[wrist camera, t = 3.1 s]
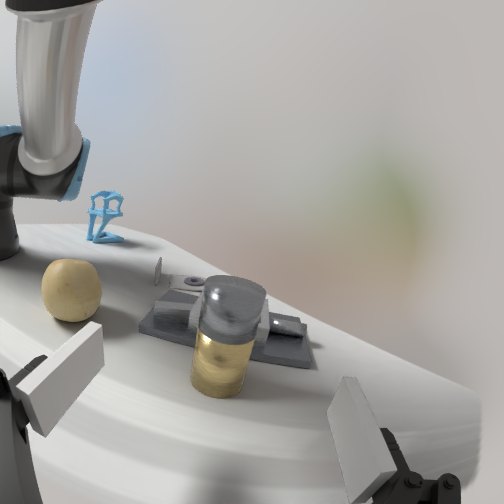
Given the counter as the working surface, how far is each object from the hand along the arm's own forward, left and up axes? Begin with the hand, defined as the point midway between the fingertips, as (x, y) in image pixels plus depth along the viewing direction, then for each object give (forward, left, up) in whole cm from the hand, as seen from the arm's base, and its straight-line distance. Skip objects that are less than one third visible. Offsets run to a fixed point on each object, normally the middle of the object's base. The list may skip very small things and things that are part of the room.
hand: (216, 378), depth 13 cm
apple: (-19, +14, -9) cm, 25 cm away
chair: (-35, +48, -9) cm, 60 cm away
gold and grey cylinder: (0, +10, -8) cm, 13 cm away
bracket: (-10, +34, -9) cm, 37 cm away
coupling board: (0, +21, -8) cm, 23 cm away
